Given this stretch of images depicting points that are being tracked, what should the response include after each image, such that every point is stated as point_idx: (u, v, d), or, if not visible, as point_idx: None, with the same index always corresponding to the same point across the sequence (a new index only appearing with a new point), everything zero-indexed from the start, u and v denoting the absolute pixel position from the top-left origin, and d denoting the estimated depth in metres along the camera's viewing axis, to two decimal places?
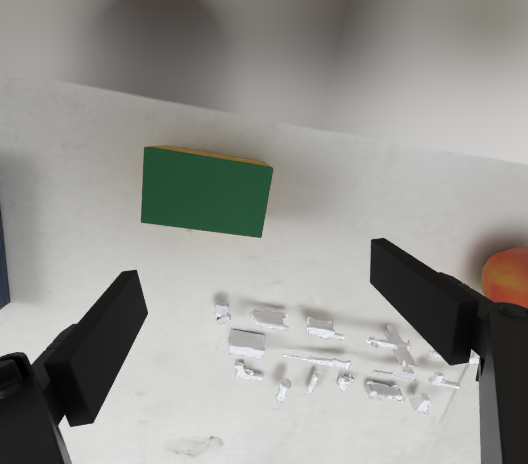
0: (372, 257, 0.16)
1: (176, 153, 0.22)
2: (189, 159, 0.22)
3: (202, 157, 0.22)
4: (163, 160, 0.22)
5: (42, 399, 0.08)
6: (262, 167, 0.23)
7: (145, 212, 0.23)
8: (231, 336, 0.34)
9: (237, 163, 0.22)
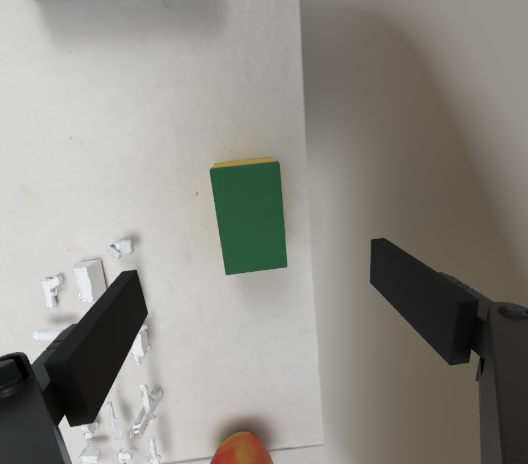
0: (372, 257, 0.16)
1: (280, 190, 0.25)
2: (278, 201, 0.25)
3: (282, 211, 0.26)
4: (271, 180, 0.25)
5: (42, 399, 0.08)
6: (285, 259, 0.27)
7: (220, 172, 0.24)
8: (94, 263, 0.31)
9: (284, 239, 0.26)
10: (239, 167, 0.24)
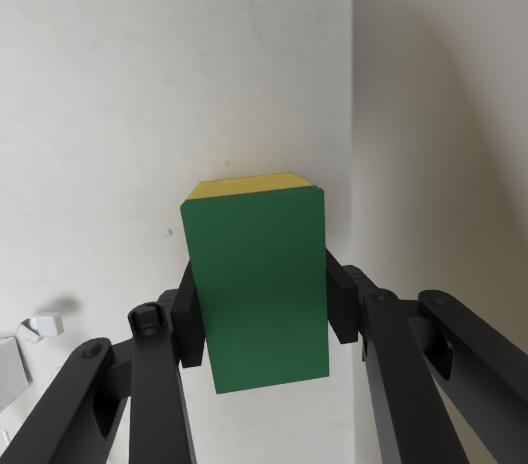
0: None
1: (323, 243, 0.13)
2: (318, 264, 0.13)
3: (325, 282, 0.13)
4: (307, 225, 0.12)
5: (171, 345, 0.09)
6: (327, 363, 0.15)
7: (202, 211, 0.12)
8: None
9: (326, 331, 0.14)
10: (242, 200, 0.12)
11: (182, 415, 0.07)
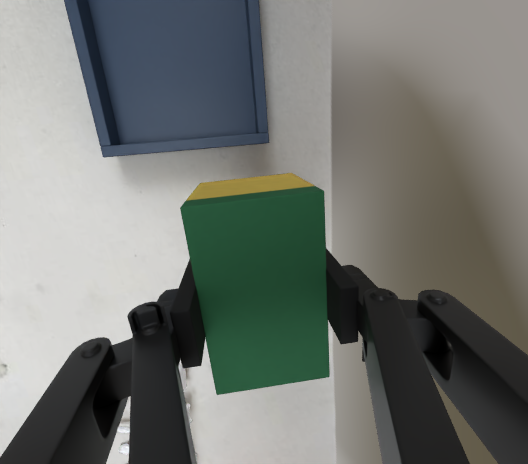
0: None
1: (324, 244, 0.13)
2: (318, 265, 0.13)
3: (325, 283, 0.13)
4: (307, 226, 0.12)
5: (171, 345, 0.09)
6: (327, 364, 0.15)
7: (202, 212, 0.12)
8: None
9: (326, 332, 0.14)
10: (242, 201, 0.12)
11: (182, 415, 0.07)
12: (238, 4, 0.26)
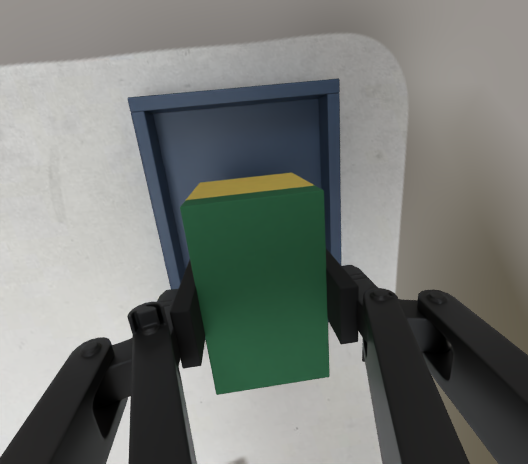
0: None
1: (323, 243, 0.13)
2: (318, 265, 0.13)
3: (325, 282, 0.13)
4: (307, 225, 0.12)
5: (171, 345, 0.09)
6: (327, 363, 0.15)
7: (202, 211, 0.12)
8: None
9: (326, 331, 0.14)
10: (242, 201, 0.12)
11: (182, 415, 0.07)
12: None
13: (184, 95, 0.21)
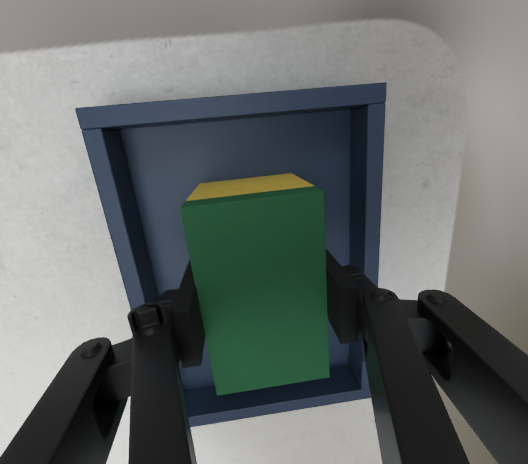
0: None
1: (323, 244, 0.13)
2: (318, 265, 0.13)
3: (325, 283, 0.13)
4: (307, 226, 0.12)
5: (171, 345, 0.09)
6: (328, 364, 0.15)
7: (202, 212, 0.12)
8: None
9: (327, 332, 0.14)
10: (242, 201, 0.12)
11: (182, 415, 0.07)
12: (340, 237, 0.20)
13: (160, 105, 0.14)
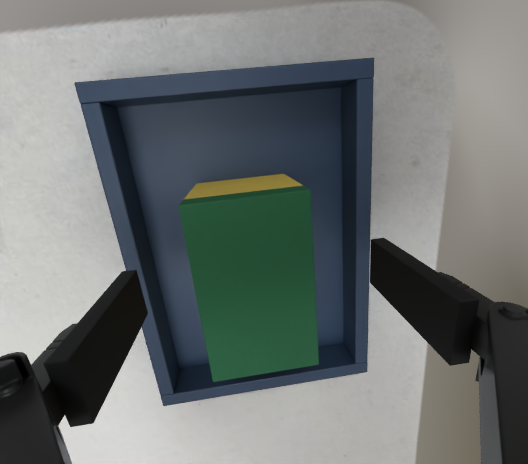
0: (372, 257, 0.16)
1: (311, 239, 0.14)
2: (306, 259, 0.14)
3: (313, 275, 0.14)
4: (296, 222, 0.13)
5: (42, 399, 0.08)
6: (317, 352, 0.16)
7: (198, 209, 0.13)
8: None
9: (315, 322, 0.15)
10: (235, 200, 0.13)
11: None
12: (333, 214, 0.21)
13: (157, 79, 0.15)
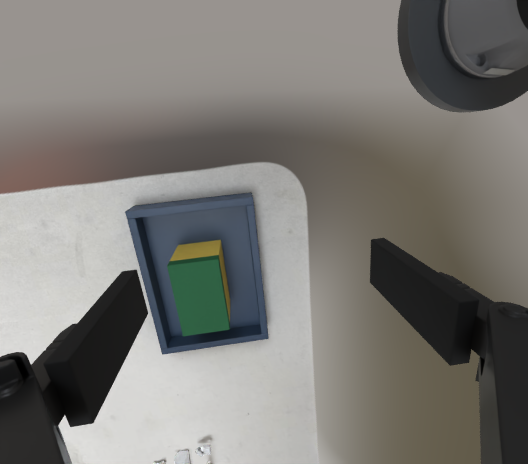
0: (372, 257, 0.16)
1: (220, 277, 0.34)
2: (219, 285, 0.34)
3: (222, 291, 0.35)
4: (213, 271, 0.34)
5: (42, 399, 0.08)
6: (228, 324, 0.36)
7: (174, 267, 0.33)
8: (186, 456, 0.52)
9: (225, 310, 0.36)
10: (188, 263, 0.33)
11: None
12: (247, 258, 0.41)
13: (159, 209, 0.35)
